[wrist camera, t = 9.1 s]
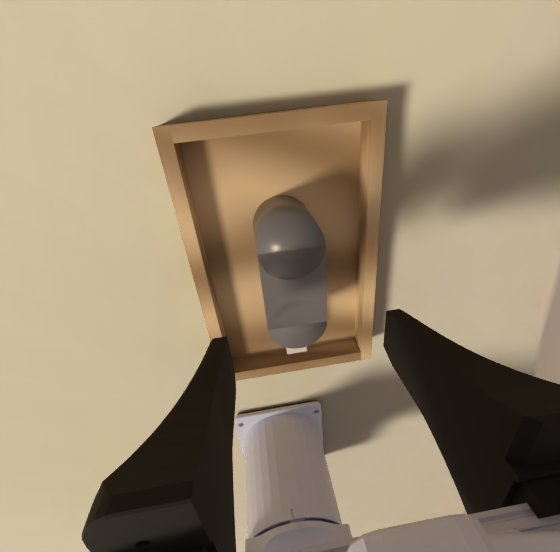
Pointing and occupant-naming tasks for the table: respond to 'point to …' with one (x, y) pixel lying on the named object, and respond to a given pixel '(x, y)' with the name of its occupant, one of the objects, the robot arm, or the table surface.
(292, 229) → the grey rounded long block
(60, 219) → the table surface
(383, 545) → the robot arm
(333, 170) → the oak tray
